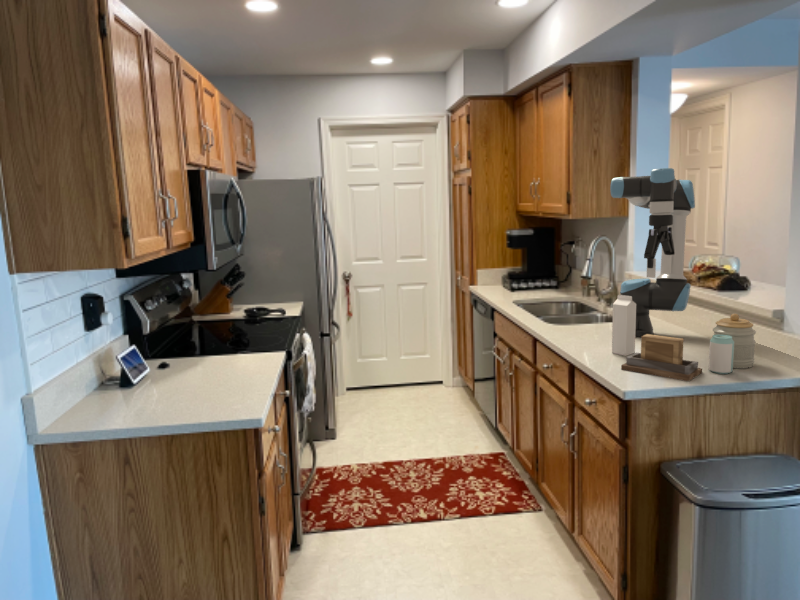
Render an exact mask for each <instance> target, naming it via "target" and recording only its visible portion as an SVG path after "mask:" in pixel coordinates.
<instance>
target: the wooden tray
mask: <svg viewBox="0 0 800 600" xmlns="http://www.w3.org/2000/svg"><path fill="white" fill-rule="evenodd" d="M620 369H621V370H622V371H629V372H632V373H633V372H635V373H640V374H645V375H651V376H656V377H662V378H666V379H667V378H669V379H674V380H679V381H680V380H681V381H686V382H690V381H692V380H694V379H695V378H696V377H698V376H699V375H701V374H702V373H703V368H702V367H699V362H698V361H693V360H687V359H683V363H682V365H678V364H672V363H666V362H660V361H653V360H647V359H641V352H635V353H633V354H630V355H627V356H626V362H625V363H623V364H621V368H620Z"/></svg>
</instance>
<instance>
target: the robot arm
mask: <svg viewBox="0 0 800 600" xmlns="http://www.w3.org/2000/svg"><path fill="white" fill-rule="evenodd" d="M675 177H676V175H675V169H674V168H672V167H670V168H669V167H667V168H654V169H651V171H650V175H642V176H620V177H613V178H612V179H611V182H610V190H609V191H610V196H611V197H612V198H613V199H626V200H628V201H629V203H630V204H632V205H634V206H636V207H638V208H639V207H640V208H643V209H648V210H649V214H650V215H649V216H648V226H651V227H653V229H652V228H651V229H650V228H649V230H648V235H647V236H648V237H647V241H646V246H645V248H644V249H645V250H644V254H643V259H646V278H635V279H627V280H624V281H622V283H621V284H620V292H619V293H620V295H625V296H632V301H633V302H635V303H636V331H635V338H637V337H638V338H639V337H641V336H644V335H646V334H651V335H654V327H653V324H652V320H651V317H650V311H664V312H683V311H685V310H686V309H687V306H688V302H689V299H690V298H689V297H690V292H691V286H692V285H691V284H690V283H689V282H688V279H687V278H686V276H685V275H684V265H685V250H686V249H685V245H686V229H687V228H686V227H687V216H689V215H690V214H691V211H692V209H695V207H696V202H695V201H696V199H695V190H694V189H695V188H694V183H693V181H692V180H690V179H676V178H675ZM660 245H661V255H660V256H661V257H660V273H659V275H658V276H657V277H656V273H657V272H656V269H657V268H656V267H657V259H656V255H657V252H658V249H659V247H660ZM650 278H651V279H656V280H655V282H653V281H651V279H650Z"/></svg>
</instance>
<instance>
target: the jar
mask: <svg viewBox="0 0 800 600" xmlns="http://www.w3.org/2000/svg"><path fill="white" fill-rule="evenodd" d="M715 325H716V326H714V327H713V328H712V332H714V333H713V335H729V336H732V339H733V341H734V357H733V369H749V368H752V367H753V366H754V364H755V344H756V340H755V334H757V331H756V330H755V329H754V328H753V327H754V326H755V325H754V323H752V322H751V321H750V320H748V319H745V318H740V316H739V314H738V313H731V315H730V316H729V317H725V318H721V319H719V320H717V321H716V322H715ZM748 367H749V368H748Z"/></svg>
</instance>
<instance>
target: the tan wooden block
mask: <svg viewBox="0 0 800 600" xmlns="http://www.w3.org/2000/svg"><path fill="white" fill-rule="evenodd" d="M640 343H641V344H640V353H641V359H647V360H653V361H660V362H666V363H672V364H678V365H682V363H683V360H684V358H683V357H684V338H680V337H673V336H665V335H657V334H653V335H651V334H646V335H644V336H641V340H640Z"/></svg>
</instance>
